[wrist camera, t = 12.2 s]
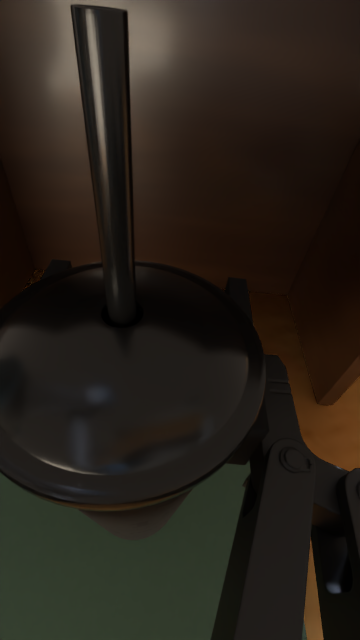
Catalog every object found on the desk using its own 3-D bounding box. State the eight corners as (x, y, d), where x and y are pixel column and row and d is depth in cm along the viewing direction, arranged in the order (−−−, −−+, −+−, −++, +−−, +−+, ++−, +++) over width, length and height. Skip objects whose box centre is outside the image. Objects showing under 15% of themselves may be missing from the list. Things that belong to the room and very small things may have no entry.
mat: (306, 661, 14) (311, 663, 14) (-89, 636, 14) (-96, 637, 13) (266, 406, 23) (268, 402, 23) (25, 383, 23) (23, 380, 22)
